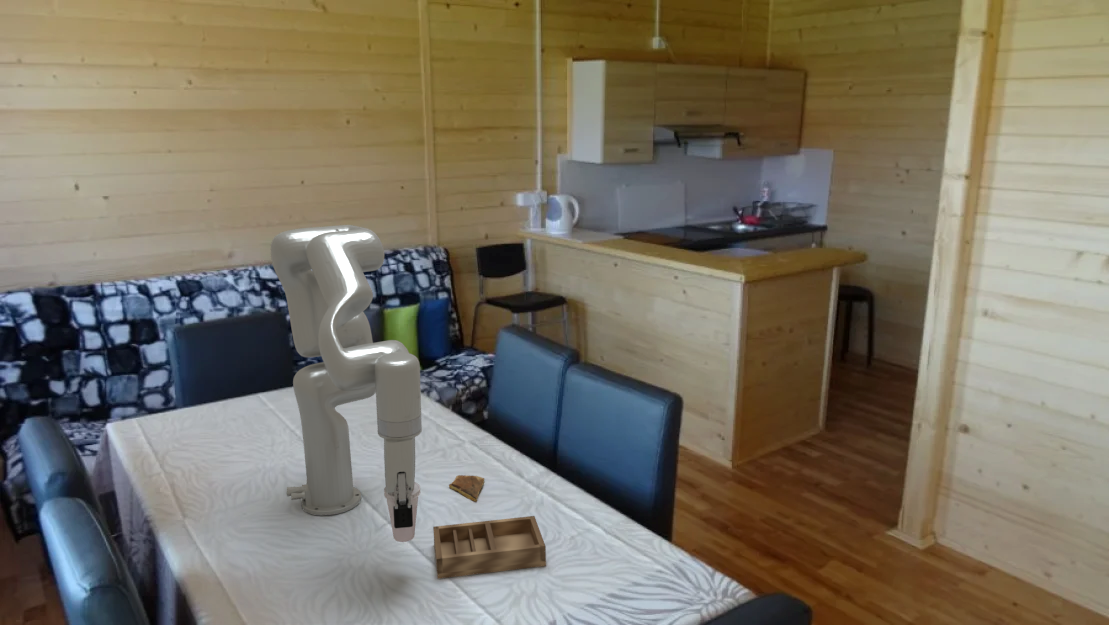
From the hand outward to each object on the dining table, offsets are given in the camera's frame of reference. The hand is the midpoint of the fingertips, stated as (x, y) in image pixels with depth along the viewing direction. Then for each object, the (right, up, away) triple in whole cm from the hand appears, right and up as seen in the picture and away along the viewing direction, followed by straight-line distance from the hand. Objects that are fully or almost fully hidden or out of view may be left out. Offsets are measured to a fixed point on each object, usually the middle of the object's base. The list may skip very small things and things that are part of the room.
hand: (403, 515), depth 142 cm
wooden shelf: (+14, -10, +10) cm, 20 cm away
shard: (+9, -4, +37) cm, 39 cm away
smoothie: (0, -4, +1) cm, 4 cm away
